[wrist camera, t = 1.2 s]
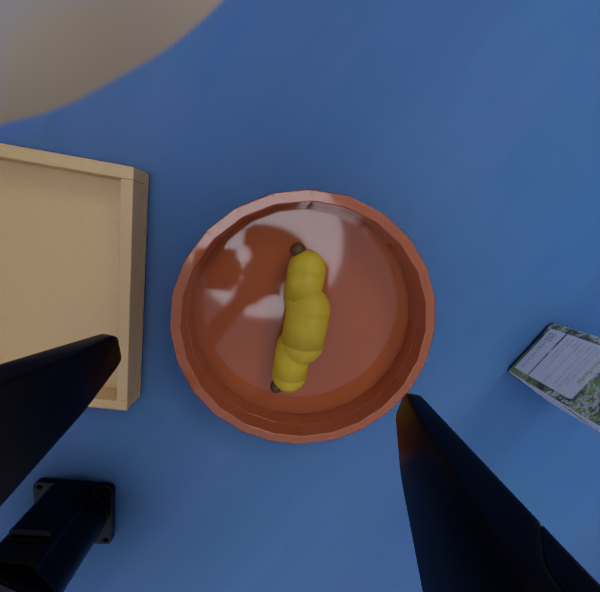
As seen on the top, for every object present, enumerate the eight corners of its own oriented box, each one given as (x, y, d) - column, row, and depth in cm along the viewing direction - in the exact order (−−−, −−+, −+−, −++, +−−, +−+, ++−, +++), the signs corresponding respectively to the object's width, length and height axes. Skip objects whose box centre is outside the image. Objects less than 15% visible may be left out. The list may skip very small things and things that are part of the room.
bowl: (385, 425, 24) (400, 453, 21) (179, 404, 23) (163, 431, 20) (439, 220, 21) (467, 217, 17) (196, 176, 19) (179, 165, 16)
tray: (140, 395, 22) (126, 411, 20) (-17, 379, 21) (-48, 393, 19) (149, 174, 19) (133, 166, 17) (-41, 140, 18) (-81, 128, 16)
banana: (311, 386, 22) (315, 411, 19) (269, 382, 22) (266, 406, 19) (337, 248, 20) (347, 250, 17) (290, 240, 20) (292, 241, 17)
